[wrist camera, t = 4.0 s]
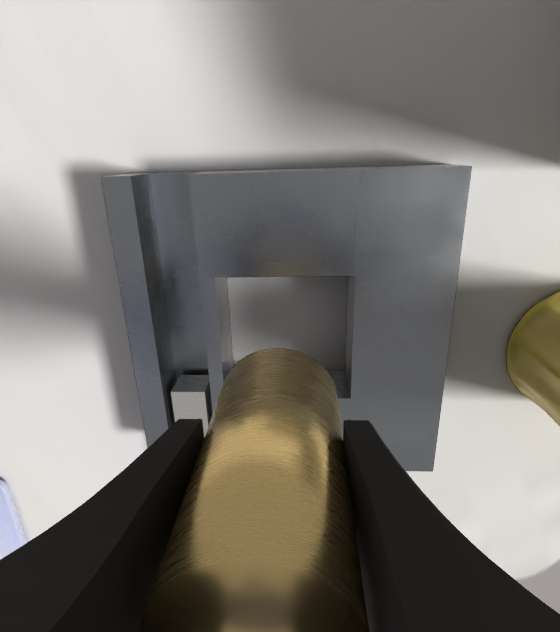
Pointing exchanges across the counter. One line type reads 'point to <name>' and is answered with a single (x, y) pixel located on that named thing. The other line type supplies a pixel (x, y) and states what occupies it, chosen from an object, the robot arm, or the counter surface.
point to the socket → (296, 260)
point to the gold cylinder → (265, 512)
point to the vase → (538, 355)
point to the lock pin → (192, 399)
